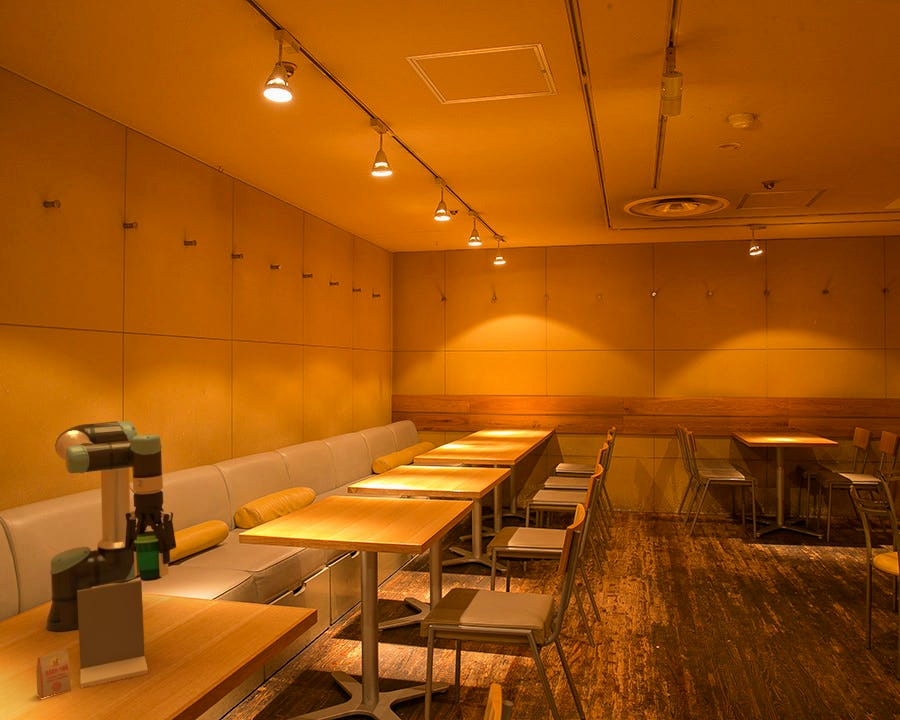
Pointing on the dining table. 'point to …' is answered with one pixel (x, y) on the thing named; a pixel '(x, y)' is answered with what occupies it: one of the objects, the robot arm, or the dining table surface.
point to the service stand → (111, 633)
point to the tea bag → (53, 674)
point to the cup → (148, 556)
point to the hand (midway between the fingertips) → (151, 574)
